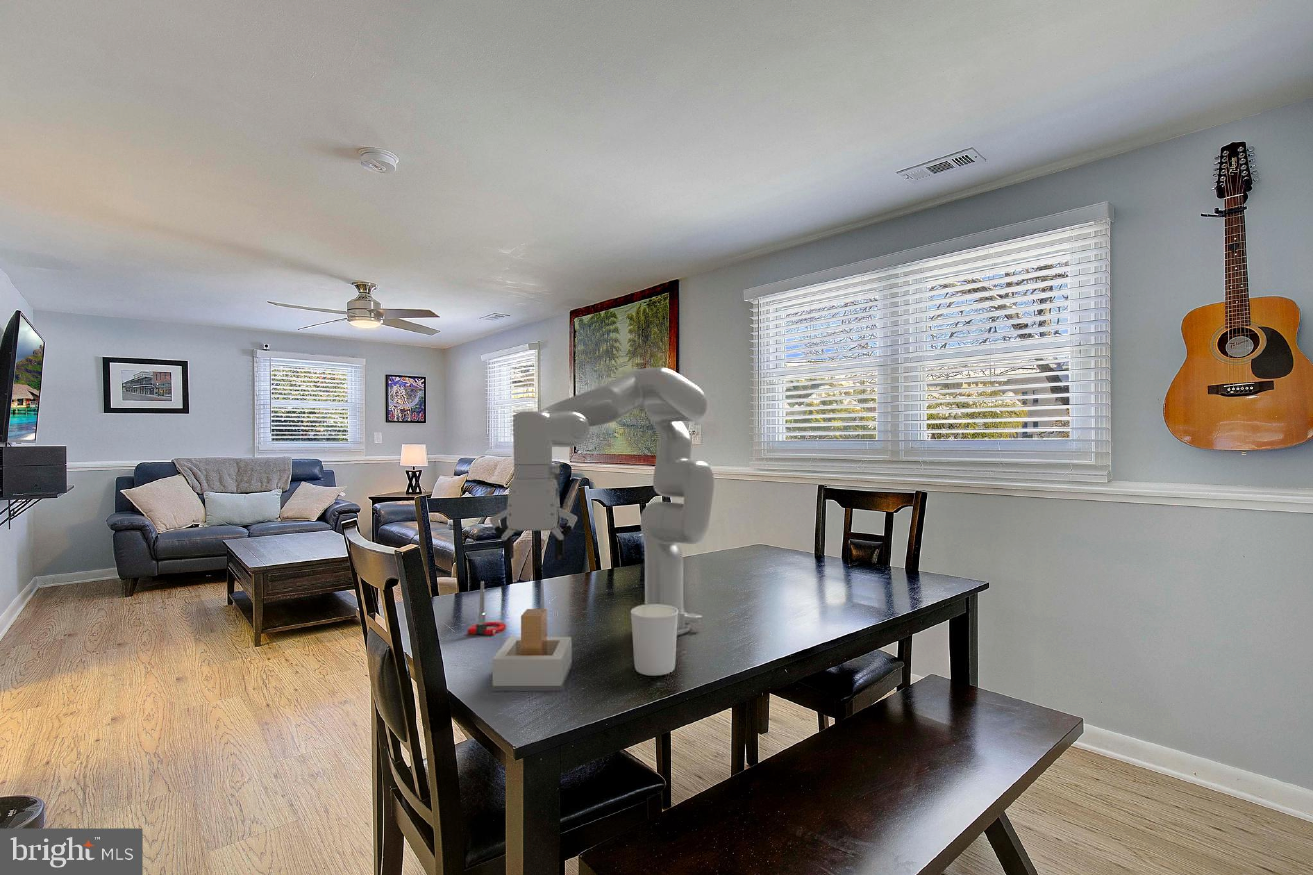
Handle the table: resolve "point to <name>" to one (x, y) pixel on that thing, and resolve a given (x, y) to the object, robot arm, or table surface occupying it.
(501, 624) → the tow hook
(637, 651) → the candle holder
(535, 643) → the wooden square beam
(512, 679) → the well
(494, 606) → the table surface
